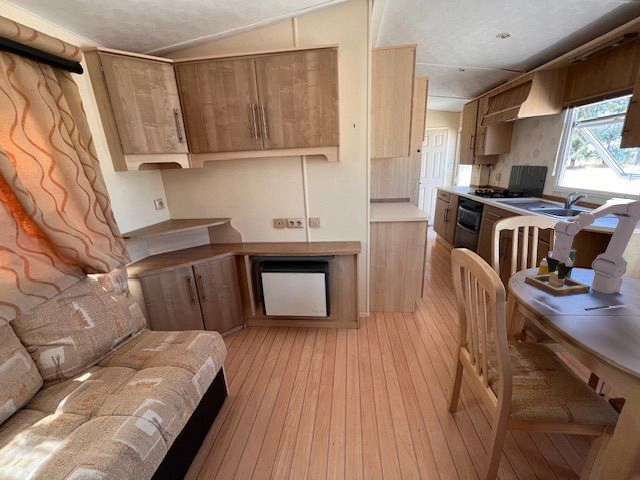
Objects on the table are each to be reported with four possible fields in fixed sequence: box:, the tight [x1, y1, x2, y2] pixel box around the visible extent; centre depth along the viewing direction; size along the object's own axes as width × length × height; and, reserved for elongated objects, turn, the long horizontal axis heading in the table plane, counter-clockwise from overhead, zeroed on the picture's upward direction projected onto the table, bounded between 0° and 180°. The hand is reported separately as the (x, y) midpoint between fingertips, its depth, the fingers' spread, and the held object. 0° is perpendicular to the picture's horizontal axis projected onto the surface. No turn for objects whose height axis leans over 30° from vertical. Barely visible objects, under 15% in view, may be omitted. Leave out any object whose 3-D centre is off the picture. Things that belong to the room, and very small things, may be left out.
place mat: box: [584, 305, 610, 311], centre depth 115 cm, size 11×11×1 cm
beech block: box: [547, 271, 565, 288], centre depth 128 cm, size 4×4×7 cm
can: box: [555, 248, 578, 277], centre depth 139 cm, size 6×6×15 cm
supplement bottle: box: [537, 257, 551, 275], centre depth 141 cm, size 5×5×10 cm
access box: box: [524, 274, 592, 296], centre depth 128 cm, size 18×16×4 cm
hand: (556, 275), depth 120 cm, fingers open, 7 cm apart
